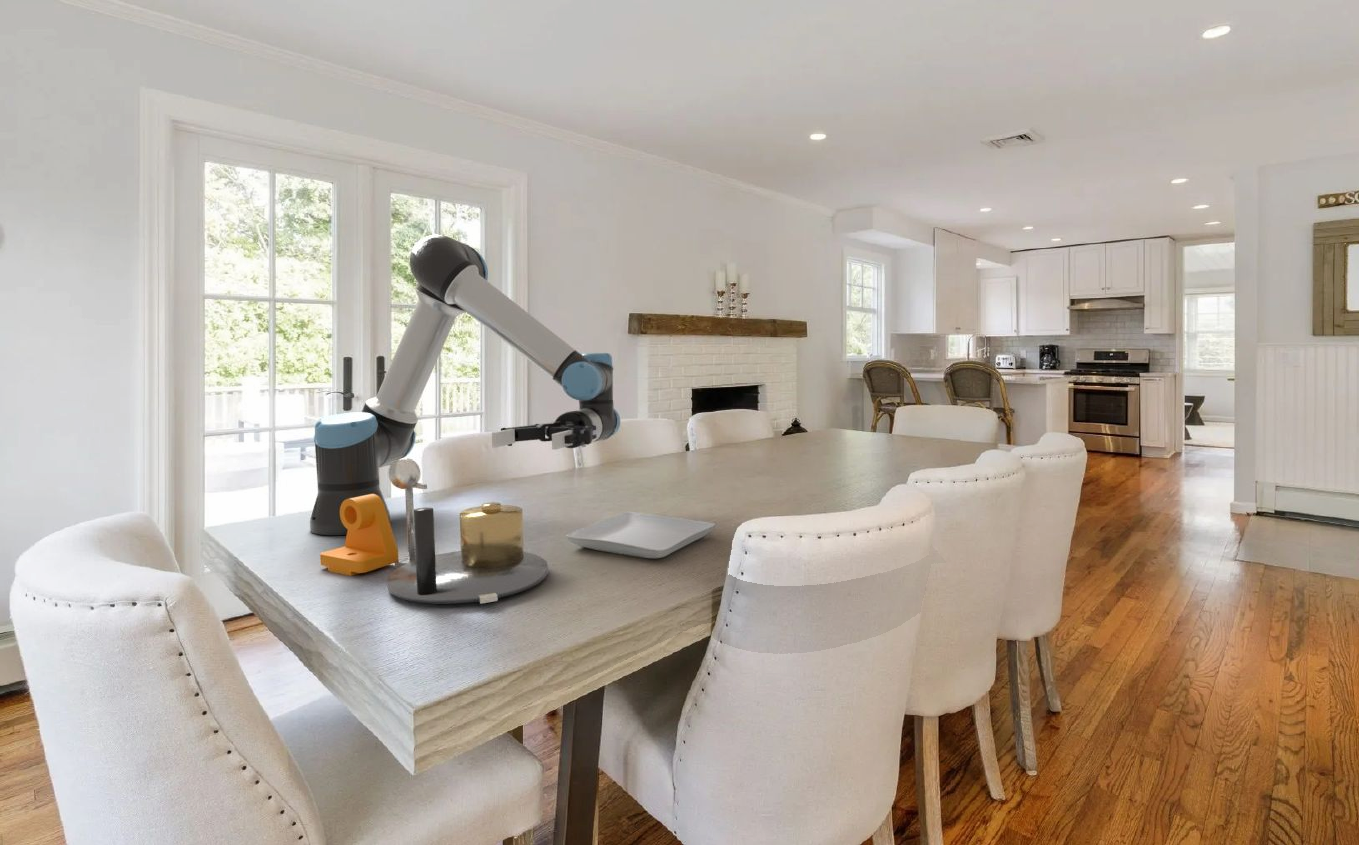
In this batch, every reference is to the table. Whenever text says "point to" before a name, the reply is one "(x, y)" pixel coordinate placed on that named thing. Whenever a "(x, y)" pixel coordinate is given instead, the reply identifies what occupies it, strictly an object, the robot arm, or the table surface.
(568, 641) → the table surface
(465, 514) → the cover
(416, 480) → the stand
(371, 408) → the robot arm
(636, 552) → the salad plate
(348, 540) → the bracket
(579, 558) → the table surface
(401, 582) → the turntable
